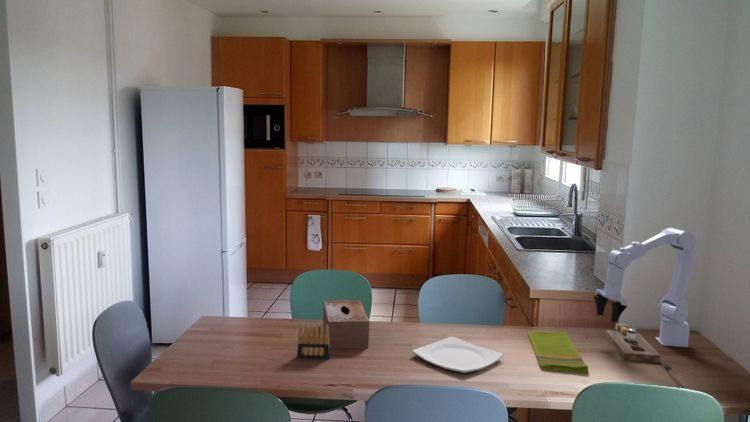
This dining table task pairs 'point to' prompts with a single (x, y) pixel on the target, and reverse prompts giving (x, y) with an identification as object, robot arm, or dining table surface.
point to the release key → (622, 328)
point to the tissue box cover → (346, 324)
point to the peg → (631, 335)
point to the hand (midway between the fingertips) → (606, 318)
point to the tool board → (633, 347)
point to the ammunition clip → (313, 343)
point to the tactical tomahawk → (673, 375)
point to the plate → (457, 355)
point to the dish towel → (557, 352)
